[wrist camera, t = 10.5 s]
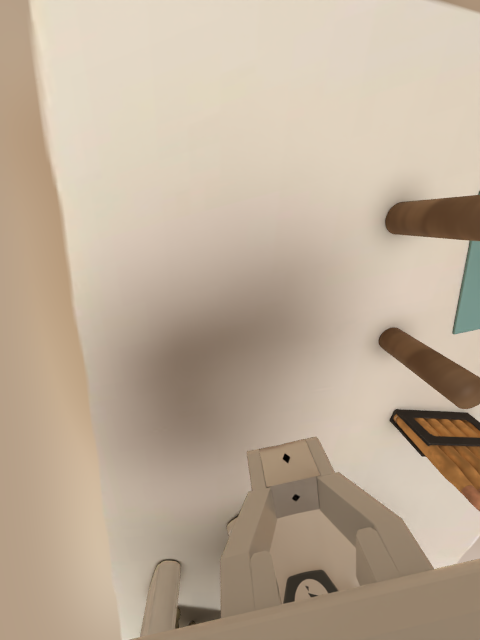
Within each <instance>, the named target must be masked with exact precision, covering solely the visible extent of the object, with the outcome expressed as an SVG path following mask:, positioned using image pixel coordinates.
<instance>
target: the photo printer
mask: <svg viewBox="0 0 480 640" xmlns="http://www.w3.org/2000/svg"><path fill="white" fill-rule="evenodd" d="M180 573H181V566H180V564H178V562H176V561H171V560H169V561H163V562H161V563H160V564H158V566H157V567H156V569H155V572H154V575H153V578H152V581H151V584H150V588H149V592H148V596H147V602H146V607H145V613H144V618H143V624H142V629H141V635H140V637H143V636H147V635H152V634H156V633H160V632H165V631H169V630H173V629H175V624H176V614H177V605H178V595H179V584H180Z"/></svg>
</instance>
